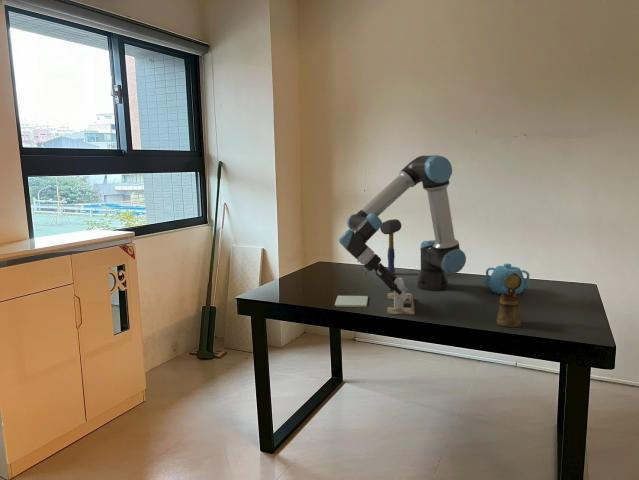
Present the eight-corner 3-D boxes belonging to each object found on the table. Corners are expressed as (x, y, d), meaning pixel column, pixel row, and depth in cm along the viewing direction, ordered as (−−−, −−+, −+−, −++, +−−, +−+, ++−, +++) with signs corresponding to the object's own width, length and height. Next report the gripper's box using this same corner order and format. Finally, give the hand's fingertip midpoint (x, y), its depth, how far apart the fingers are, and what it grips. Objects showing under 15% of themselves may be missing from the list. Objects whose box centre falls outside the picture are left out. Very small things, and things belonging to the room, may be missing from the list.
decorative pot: (498, 298, 221) (499, 269, 218) (481, 288, 237) (482, 261, 234) (532, 296, 223) (533, 267, 221) (513, 286, 239) (515, 259, 236)
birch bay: (411, 298, 224) (411, 293, 224) (414, 314, 203) (414, 308, 202) (387, 298, 226) (387, 293, 225) (387, 314, 204) (387, 308, 204)
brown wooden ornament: (525, 318, 194) (527, 273, 191) (518, 329, 183) (520, 282, 180) (501, 315, 199) (503, 271, 196) (493, 325, 188) (495, 279, 184)
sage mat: (367, 297, 228) (367, 295, 228) (366, 307, 214) (366, 305, 214) (337, 297, 230) (337, 295, 230) (334, 306, 216) (334, 304, 216)
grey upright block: (403, 309, 209) (404, 281, 207) (393, 309, 210) (393, 281, 208) (404, 302, 219) (404, 275, 217) (394, 302, 220) (394, 275, 218)
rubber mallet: (391, 277, 263) (391, 221, 258) (379, 275, 268) (379, 220, 262) (402, 272, 273) (402, 218, 268) (390, 270, 277) (390, 218, 272)
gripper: (364, 259, 224) (399, 293, 225) (361, 271, 202) (400, 308, 203) (375, 248, 223) (411, 282, 223) (374, 259, 201) (413, 296, 201)
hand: (406, 294), depth 213 cm, fingers closed on grey upright block, 10 cm apart
